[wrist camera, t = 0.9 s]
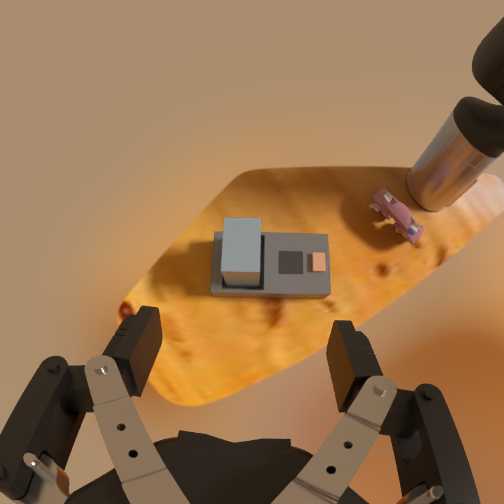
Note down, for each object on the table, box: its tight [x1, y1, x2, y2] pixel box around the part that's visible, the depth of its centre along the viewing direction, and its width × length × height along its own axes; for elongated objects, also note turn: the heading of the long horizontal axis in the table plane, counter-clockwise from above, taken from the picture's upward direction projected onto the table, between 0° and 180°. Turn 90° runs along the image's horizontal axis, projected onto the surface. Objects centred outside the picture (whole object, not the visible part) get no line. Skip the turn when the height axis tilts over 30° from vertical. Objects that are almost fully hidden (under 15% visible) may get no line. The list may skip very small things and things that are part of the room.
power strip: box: [210, 231, 331, 298], centre depth 38 cm, size 15×8×4 cm, turn 89°
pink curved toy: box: [371, 188, 424, 244], centre depth 40 cm, size 10×5×7 cm, turn 39°
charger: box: [221, 218, 261, 288], centre depth 35 cm, size 4×6×8 cm, turn 178°
